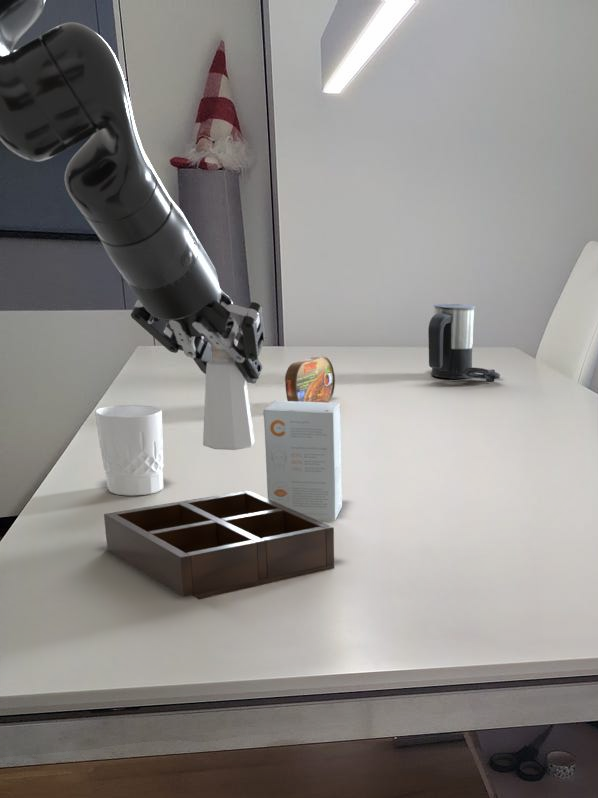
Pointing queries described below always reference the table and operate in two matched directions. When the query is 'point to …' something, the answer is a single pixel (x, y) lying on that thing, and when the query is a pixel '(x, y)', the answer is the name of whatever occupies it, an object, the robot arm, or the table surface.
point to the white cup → (131, 448)
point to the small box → (304, 457)
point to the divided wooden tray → (220, 543)
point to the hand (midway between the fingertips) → (235, 373)
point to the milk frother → (454, 343)
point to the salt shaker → (226, 405)
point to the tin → (310, 380)
